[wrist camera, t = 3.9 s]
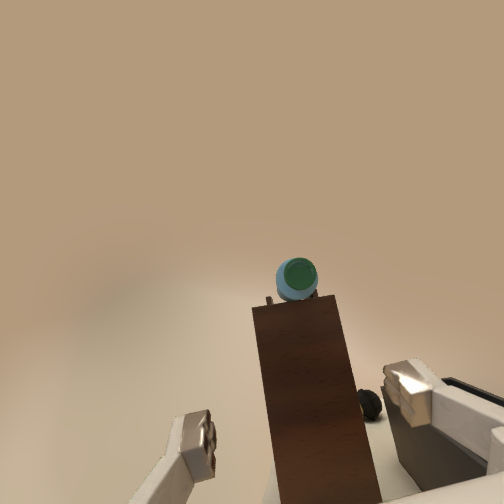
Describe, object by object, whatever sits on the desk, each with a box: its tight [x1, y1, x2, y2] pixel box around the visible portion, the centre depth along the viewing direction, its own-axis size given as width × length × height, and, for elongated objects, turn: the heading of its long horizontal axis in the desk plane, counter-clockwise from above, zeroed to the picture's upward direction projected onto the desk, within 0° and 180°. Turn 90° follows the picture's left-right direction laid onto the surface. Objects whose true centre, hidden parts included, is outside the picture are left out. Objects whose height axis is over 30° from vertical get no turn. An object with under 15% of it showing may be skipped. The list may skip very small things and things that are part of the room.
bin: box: [381, 377, 504, 492], centre depth 27 cm, size 22×11×11 cm, turn 174°
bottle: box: [276, 258, 318, 302], centre depth 31 cm, size 19×4×4 cm, turn 174°
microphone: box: [357, 389, 382, 420], centre depth 50 cm, size 6×6×20 cm
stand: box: [252, 289, 383, 504], centre depth 31 cm, size 10×10×27 cm
